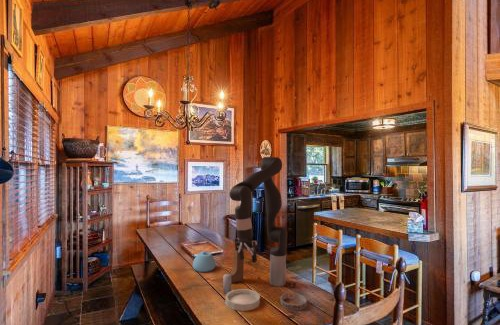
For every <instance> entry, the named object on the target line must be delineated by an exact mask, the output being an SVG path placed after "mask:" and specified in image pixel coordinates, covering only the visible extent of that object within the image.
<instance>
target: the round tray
mask: <svg viewBox="0 0 500 325" xmlns="http://www.w3.org/2000/svg"><path fill="white" fill-rule="evenodd" d="M224 302H225V305H226V306H227V308H229V309H232V310H233V311H240V312H245V311H251V310H255V309H257V308H258V307H259V306H260V304H261V295H260V293H258V292H257V291H255V290H252V289H247V288H246V289H245V288H239V289H238V288H236V289H231V291H230V292H228V293H227V294H225V300H224Z"/></svg>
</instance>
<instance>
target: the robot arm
mask: <svg viewBox="0 0 500 325" xmlns="http://www.w3.org/2000/svg"><path fill="white" fill-rule="evenodd" d="M282 168H283V161H282V159H281V158H280V157H277V156H276V157H275V156H263V157H262V159H261V160H260V170H258V171H256V172H254V173H252V174H251V175H249V176H248V177H247V178H245V179H244V180H242V181H241V182H239V183H236V184H235V185H234V186H232V187H231V188H230V191H229V197H230V199H231V200H232V201H234V202H240V205H237V206H236V207H235V208H234V214H235V227H236V234H237V235H236V236H237V237H236V238H235V239H234V250H236V251H238V252H239V258H240V260H245V251H244V249H245V250H247V251H248V252H250V254H251V260H252V261H251V262H252V264H256V263H257V261H258V258H257V257H258V256H257V255H258V254H260V248H259V247H260V246H259V242H258V240H257V239H256V240H253V237H254V232H253V224H252V218H251V212H250V207H251V199H252V192H254V191H256V189H257V188H259V187H260V186H261V185H262V184H263V188H264V199H265V200H264V201H265V207H266V208H265V209H266V222H267V223H266V226H267V227H266V228H267V229H266V230H267V231H266V232H267V233H266V234H267V238H268V241H270V242H272V243H277V244H278V245H277V246H274V247H272V248H270V250H269V284H270V285H271V286H274V287H283V286H286V283H287V266H286V264H287V263H286V262H287V258H286V257H287V254H286V253H287V245H288V243H287V242H288V230H287V228H286V227H284V226H276V218H277V216H278V214H279V213H280V211H281V209H282V204H283V202H282V194H281V192H280V190H279V189H278V187H277V186H276V184H275V183H274V180H273V177H274V176H276V175H278V174H279V173H280V172H281V171H282ZM243 251H244V252H243Z"/></svg>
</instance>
